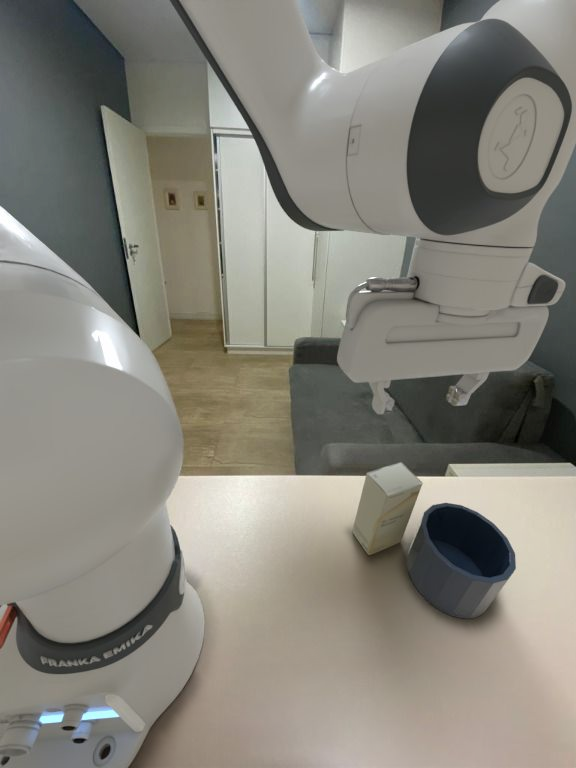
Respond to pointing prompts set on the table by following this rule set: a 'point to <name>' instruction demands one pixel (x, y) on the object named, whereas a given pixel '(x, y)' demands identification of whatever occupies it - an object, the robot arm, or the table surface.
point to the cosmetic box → (385, 507)
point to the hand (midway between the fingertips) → (419, 406)
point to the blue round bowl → (459, 560)
